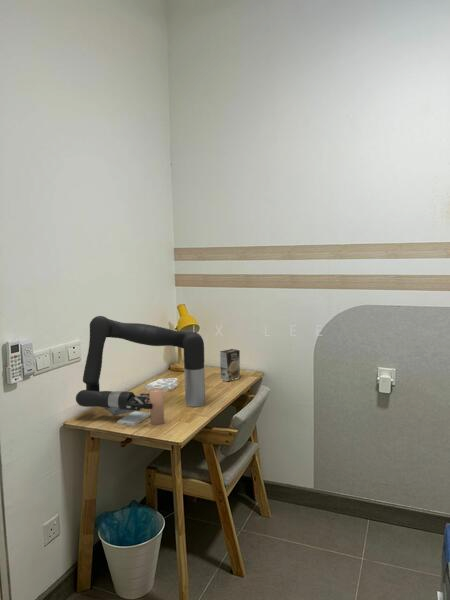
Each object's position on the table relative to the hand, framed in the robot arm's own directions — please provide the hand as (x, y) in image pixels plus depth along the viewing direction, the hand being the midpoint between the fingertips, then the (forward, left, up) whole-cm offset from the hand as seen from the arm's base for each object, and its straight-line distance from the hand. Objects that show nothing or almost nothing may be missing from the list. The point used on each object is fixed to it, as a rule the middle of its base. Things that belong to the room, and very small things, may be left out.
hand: (156, 402), depth 186 cm
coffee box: (-66, +14, -9) cm, 68 cm away
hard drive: (-1, -12, -9) cm, 15 cm away
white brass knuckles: (-45, -17, -9) cm, 49 cm away
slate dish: (-11, -24, -9) cm, 27 cm away
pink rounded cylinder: (0, 0, -9) cm, 8 cm away
